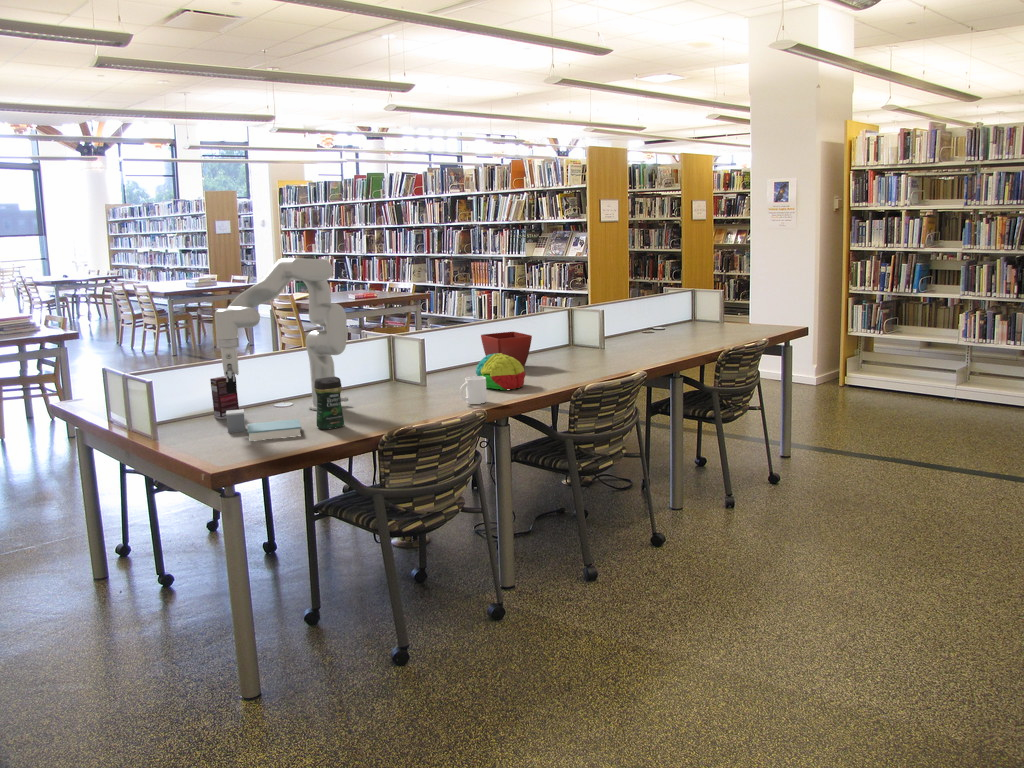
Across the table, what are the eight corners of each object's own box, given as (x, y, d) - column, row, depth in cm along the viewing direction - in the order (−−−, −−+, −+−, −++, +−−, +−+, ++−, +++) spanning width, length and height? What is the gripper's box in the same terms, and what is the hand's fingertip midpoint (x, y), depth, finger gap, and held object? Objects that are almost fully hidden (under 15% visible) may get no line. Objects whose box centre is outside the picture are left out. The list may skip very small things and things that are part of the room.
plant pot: (533, 369, 412) (532, 335, 408) (499, 373, 402) (498, 338, 399) (514, 363, 428) (513, 331, 425) (481, 368, 419) (479, 334, 415)
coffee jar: (322, 431, 302) (318, 380, 298) (314, 427, 308) (310, 377, 305) (347, 427, 307) (344, 377, 303) (338, 423, 313) (335, 374, 310)
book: (299, 429, 308) (298, 418, 307) (302, 437, 296) (301, 426, 295) (248, 434, 302) (247, 423, 302) (248, 443, 290) (247, 432, 290)
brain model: (466, 385, 373) (466, 352, 370) (498, 379, 386) (498, 347, 383) (502, 395, 357) (502, 361, 353) (533, 388, 369) (534, 355, 366)
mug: (465, 407, 332) (464, 382, 330) (454, 404, 339) (453, 379, 337) (490, 403, 339) (489, 378, 337) (479, 399, 346) (478, 375, 344)
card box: (245, 427, 311) (243, 409, 310) (245, 431, 306) (243, 412, 304) (228, 429, 309) (226, 410, 308) (227, 433, 304) (225, 413, 303)
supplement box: (233, 413, 335) (229, 374, 332) (240, 415, 332) (236, 375, 328) (213, 418, 328) (209, 378, 325) (220, 419, 325) (216, 379, 322)
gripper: (238, 346, 294) (242, 393, 297) (239, 340, 310) (242, 385, 313) (216, 347, 292) (220, 395, 295) (217, 341, 308) (221, 387, 311)
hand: (231, 390), depth 304 cm, fingers open, 9 cm apart
